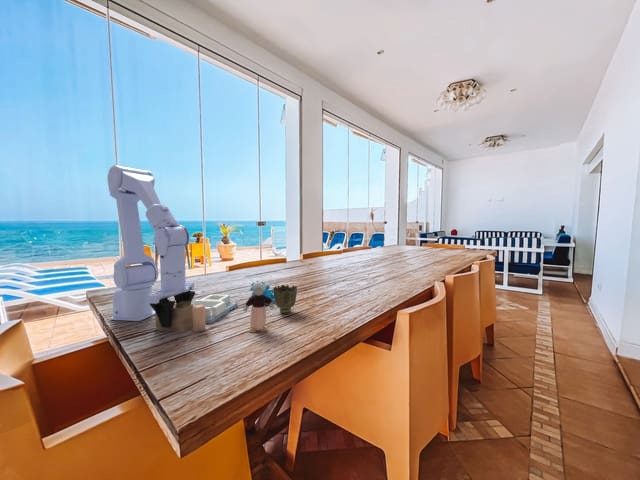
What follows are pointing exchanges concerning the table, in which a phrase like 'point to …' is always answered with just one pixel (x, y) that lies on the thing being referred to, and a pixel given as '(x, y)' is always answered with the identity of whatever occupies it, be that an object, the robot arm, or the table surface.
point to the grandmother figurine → (258, 308)
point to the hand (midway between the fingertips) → (174, 322)
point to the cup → (285, 298)
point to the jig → (216, 306)
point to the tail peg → (198, 317)
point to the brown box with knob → (178, 317)
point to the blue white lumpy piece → (265, 292)
